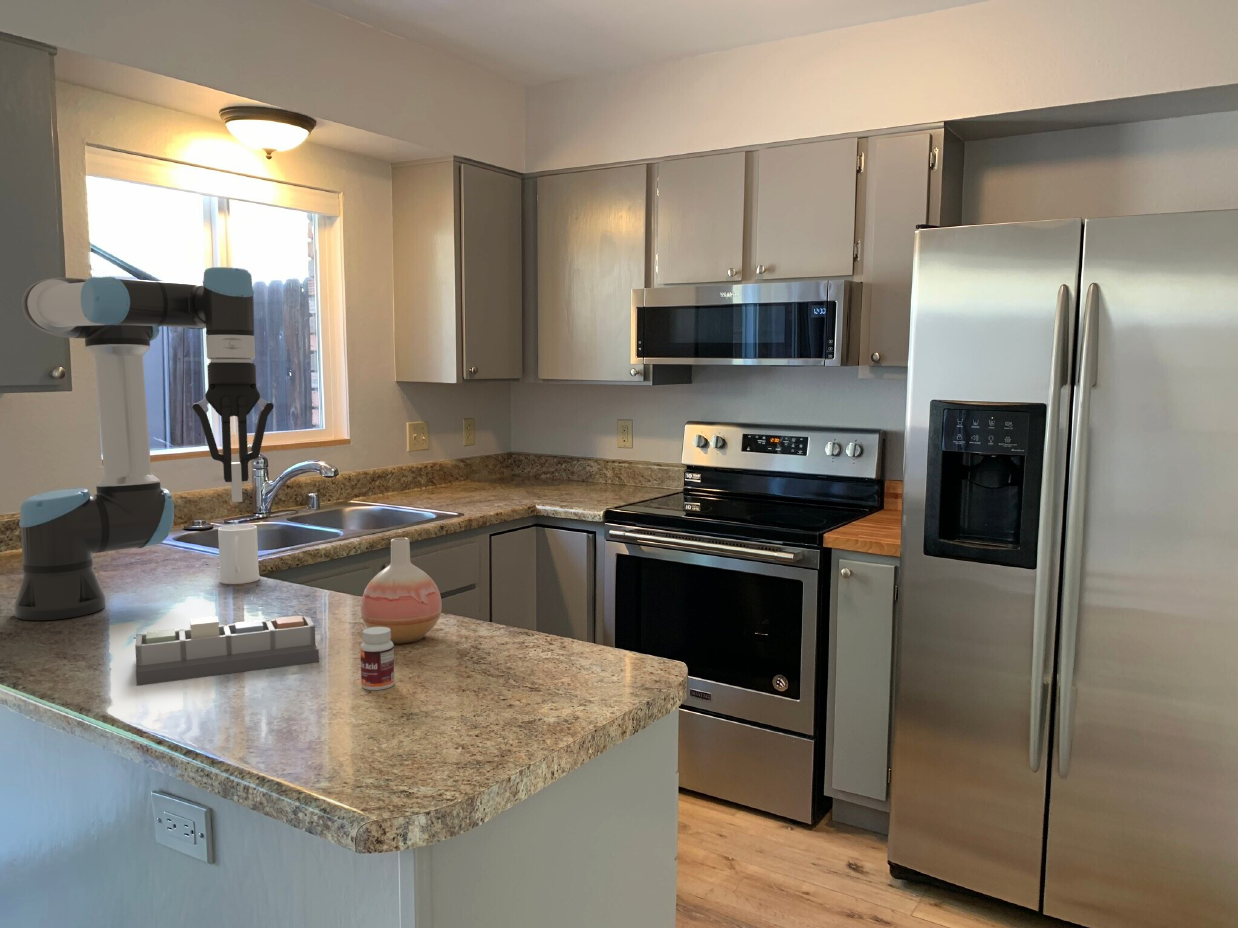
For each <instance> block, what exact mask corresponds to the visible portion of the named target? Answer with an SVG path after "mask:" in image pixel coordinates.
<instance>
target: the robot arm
mask: <svg viewBox="0 0 1238 928" xmlns="http://www.w3.org/2000/svg"><path fill="white" fill-rule="evenodd" d="M252 277H253V276H252V274H251V272H250V271H249V270H247V269H245V268H240V267H233V266H232V267H230V266H228V267H227V266H213V267H211V266H210V267H208V268H205V270H204V272H203V280H202V283H190V282H189V283H187V282H177V281H176V282H175V281H174V282H172V281H160V280H159V281H157V280H143V279H134V278H133V279H132V278H131V279H130V278H118V277H114V276H102V277H101V276H97V277H96V276H93V277H89V278H77V277H76V278H74V277H52V278H47V279H46V278H45V279H42V280H39V281H36V282H35V283H33V284H31V285H29V287H28V288H27V289H26V290H25V292H24V294H23V296H22V298H21V307H22V308H21V309H22V312H23V314H24V317H25V319H26V320H27V321H28V322H29V323H30V324H31V325H32V326H33V327H34V328H36V329H38V330H39V331H41V332H44V333H46V334H48V335H52V336H54V337H55V336H56V337H61V338H66V339H67V338H69V339H84V345H85V346H84V347H85V349H86V350H87V351H88V352H89V353H90V354H91V355H92V356H93V357H94V362H95V374H96V386H97V387H96V388H97V400H98V401H97V402H98V403H97V404H98V411H99V412H98V415H99V425H100V427H99V428H100V438H101V439H100V440H101V452H102V453H101V454H102V464H103V465H102V467H103V477H102V478H101V479H100V480H98V482H97V483H96V485H95V487H96V493H95V494H91V493H90V491H89V490H88V489H87V488H83V487H81V488H80V487H79V488H78V487H76V488H69V489H68V488H67V489H66V488H65V489H59V490H53V491H47V492H43V493H39V494H36V495H32V496H30V497H28V498H26V499H24V500H23V501H22V503H21V504H20V507H19V508H20V509H19V523H18V525H19V527H20V538H21V542H20V543H21V555H22V567H23V568H22V569H23V571H22V572H23V573H22V574H23V576H22V579H21V583H20V586H19V590H18V593H17V595H16V598H15V602H14V616H15V618H16V619H19V620H25V621H52V620H63V619H70V618H71V619H72V618H77V617H82V616H86V615H89V614H93V613H97V612H99V611H102V610H103V609H105V607H106V596H105V593H104V591H103V588H102V586H101V584H100V582H99V579H98V577H97V575H96V573H95V570H94V562H93V561H94V559H93V557H94V556H93V554H98V553H99V554H100V553H106V552H107V553H108V552H116V551H123V550H128V549H129V550H130V549H136V548H137V549H143V548H145V547H151V546H156V545H159V544H161V543H163V542H164V541H166V539H167V538H168V537H169V534H170V533H171V530H172V528H173V524H174V519H175V505H174V504H175V503H174V500H173V499H172V498H173V496H172V494H171V492H170V491H169V490H168V489H167V488H164V487H161V480H160V479H159V478H158V477H156V476H155V475H154V474H153V473H152V465H151V464H152V462H151V451H150V450H151V448H150V439H149V437H150V436H149V435H150V434H149V423H148V411H147V410H148V409H147V408H148V407H147V398H146V397H147V396H146V385H145V384H146V383H145V371H144V367H145V366H144V355H145V354H146V353H147V352H148V351H149V350H150V349H151V341H154V340H156V339H157V338H158V336H159V334H160V332H161V331H160V327H166V328H169V327H170V328H171V327H172V328H186V329H189V330H196V329H197V330H203V329H205V342H206V343H205V344H206V345H205V347H206V359H208V360H210V362H209V363H208V364H207V367H206V370H207V391H206V393H205V395H204V398H202V399H201V400H200V401H198V402H196V403H195V402H194V403H193V404H192V406H191V409H192V410H193V411H194V412H195V414H196V415H197V416H198V418H199V420H200V424H201V428H202V430H203V433H204V437H205V439H206V443H207V446H208V449H209V450H208V451H209V453H210V457H211V459H212V460H214V461H218V462H221V463H222V466H223V469H222V470H223V480H224V482H225V483H230V485H231V490H230V491H231V502H232V503H242V502H243V485H242V484H243V483H242V482H248V481H249V462H250V461H253V460H256V459H258V458H259V457H260V454H261V449H262V445H263V440H264V436H265V431H266V426H267V420H268V417H269V415H270V414H271V413H272V410H273V409H274V404H273V403H272V402H269V401H267V400H266V399H264V398H262V397H261V394H260V392H259V390H258V386H257V369H256V368H257V367H256V364H255V363H254V362H252V360H255V359H256V345H255V343H256V342H255V315H254V313H255V312H254V307H255V306H254V305H255V304H254V295H255V294H254V293H255V290H253V278H252ZM256 404H257V410H258V411H259V414H258V418H257V422H256V426H255V431H254V435H253V440H252V444H251V449H250V452H249V449H248V448H249V447H248V424H247V423H248V422H247V421H248V420H247V416H248V415H249V414H250V413H251V411H253V409H254V407H255V406H256ZM208 405H210V406H211V407H212V408H213V410H214V411H215V412H216V414H218V416H220V421H221V422H220V424H221V441H222V442H221V445H222V453H220V452H219V450H218V449H219V448H218V445H217V443H216V439H215V436H214V433H213V429H212V426H211V423H210V420H209V417H208V415H207V413H208V412H209V406H208ZM233 417H236V418H237V419H236V421H237V433H238V434H237V437H238V438H237V439H238V456H239V457H238V458H239V461H237V462H232V440H231V439H232V436H231V418H233Z"/></svg>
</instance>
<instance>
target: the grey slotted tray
mask: <svg viewBox="0 0 1238 928" xmlns="http://www.w3.org/2000/svg"><path fill="white" fill-rule="evenodd" d="M301 617H302V619H303V621H304V626H301V627H292V628H283V629H275V618H274V619H268V620H267V619H266V620H261V622H262V624H263V631H257V632H248V633H239V634H235V626H234V623H228V624H219V636H213V637H204V638H195V639H191V629H190V628H183V629H175V639H176V641H168V642H160V643H151V644H147V641H146V635H147V632H146V633H137V634H136V635H135V645H134V646H135V663H136V664H135V679H136V680H135V682H136V683H135V684H136V686H142V685H149V684H158V683H166V682H173V681H180V680H186V679H187V680H188V679H196V678H197V679H198V678H202V677H211V676H218V675H219V676H220V675H226V674H233V673H243V672H249V671H257V670H265V669H271V668H272V669H273V668H279V667H280V668H281V667H287V666H295V665H303V664H312V663H319V662H320V656H319V655H320V654H319V653H320V650H319V647H318V646H317V644H316V627H315V624H314V622H313V621H312V619H311V618H310V616H309V615H305V616H302V615H301Z"/></svg>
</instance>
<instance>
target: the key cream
mask: <svg viewBox="0 0 1238 928" xmlns="http://www.w3.org/2000/svg"><path fill="white" fill-rule="evenodd" d="M189 623H190V628H189V629H191V639H195V638H204V637H213V636H219V625H220V622H219V618H218V615H216V616H215V615H214V616H204V617H196V618H190V619H189Z"/></svg>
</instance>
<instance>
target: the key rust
mask: <svg viewBox="0 0 1238 928" xmlns="http://www.w3.org/2000/svg"><path fill="white" fill-rule="evenodd" d="M274 619H275V629H283V628H292V627H301V626H304V621H303V619H302V615H292V616H281V617H275V618H274Z"/></svg>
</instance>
